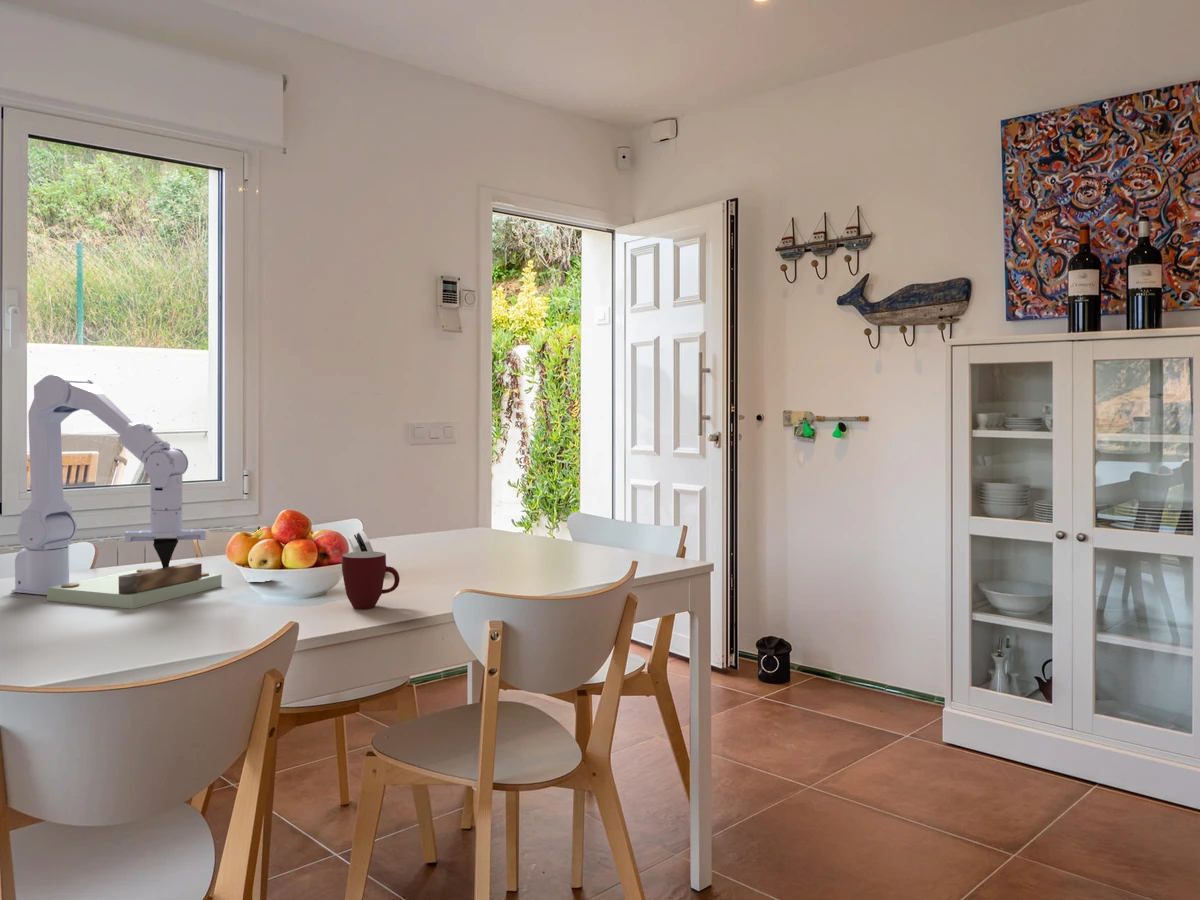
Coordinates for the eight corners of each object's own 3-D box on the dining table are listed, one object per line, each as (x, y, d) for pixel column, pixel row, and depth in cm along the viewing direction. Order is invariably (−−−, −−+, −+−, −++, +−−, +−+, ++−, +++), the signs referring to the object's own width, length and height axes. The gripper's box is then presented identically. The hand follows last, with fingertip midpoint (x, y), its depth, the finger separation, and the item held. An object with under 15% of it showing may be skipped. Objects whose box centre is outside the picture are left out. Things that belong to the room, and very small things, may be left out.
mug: (395, 600, 172) (395, 549, 172) (402, 608, 165) (402, 556, 164) (339, 604, 168) (339, 552, 168) (344, 613, 161) (344, 559, 160)
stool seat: (47, 600, 169) (46, 586, 169) (142, 579, 191) (142, 567, 191) (132, 608, 163) (132, 593, 162) (221, 586, 184) (221, 573, 184)
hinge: (387, 574, 200) (372, 533, 199) (367, 582, 199) (351, 541, 197) (378, 562, 216) (364, 525, 214) (360, 569, 214) (345, 532, 213)
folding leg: (127, 594, 163) (127, 578, 162) (114, 592, 164) (114, 576, 164) (202, 578, 179) (201, 563, 179) (190, 577, 180) (190, 562, 180)
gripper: (122, 511, 169) (122, 581, 170) (205, 510, 174) (204, 578, 175) (127, 508, 176) (127, 575, 176) (206, 506, 181) (206, 572, 182)
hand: (166, 576), depth 176 cm, fingers closed, pressing on folding leg
